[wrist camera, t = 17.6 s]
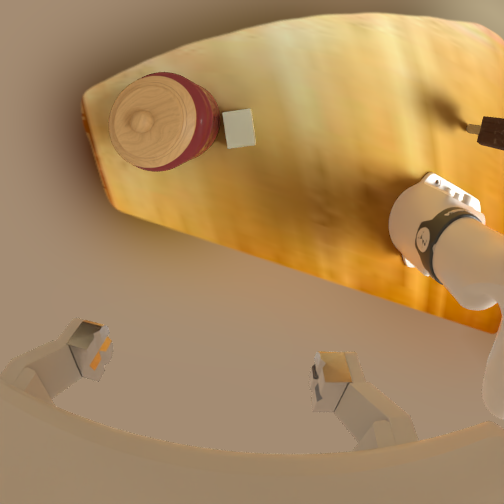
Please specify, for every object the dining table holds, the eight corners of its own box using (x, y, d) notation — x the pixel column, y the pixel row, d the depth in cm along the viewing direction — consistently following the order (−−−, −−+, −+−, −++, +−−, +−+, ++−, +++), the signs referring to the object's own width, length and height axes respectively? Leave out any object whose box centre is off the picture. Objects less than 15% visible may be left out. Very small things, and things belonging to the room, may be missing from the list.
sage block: (222, 112, 38) (226, 113, 42) (227, 148, 40) (231, 146, 44) (250, 108, 38) (251, 110, 42) (255, 145, 40) (256, 143, 44)
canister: (149, 163, 46) (94, 186, 30) (143, 90, 40) (85, 80, 24) (224, 156, 45) (200, 174, 29) (220, 79, 39) (193, 54, 23)
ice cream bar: (466, 142, 40) (519, 155, 27) (461, 138, 40) (513, 150, 26) (473, 118, 38) (525, 125, 24) (467, 114, 38) (520, 120, 24)
